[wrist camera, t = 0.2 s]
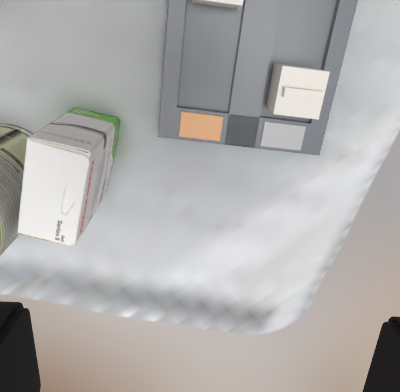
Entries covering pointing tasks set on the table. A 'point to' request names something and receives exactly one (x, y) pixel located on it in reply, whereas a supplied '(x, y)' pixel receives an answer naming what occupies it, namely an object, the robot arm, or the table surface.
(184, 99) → the switch board
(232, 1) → the tab
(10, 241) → the coffee can
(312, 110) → the tab
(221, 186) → the table surface
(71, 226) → the ink box
